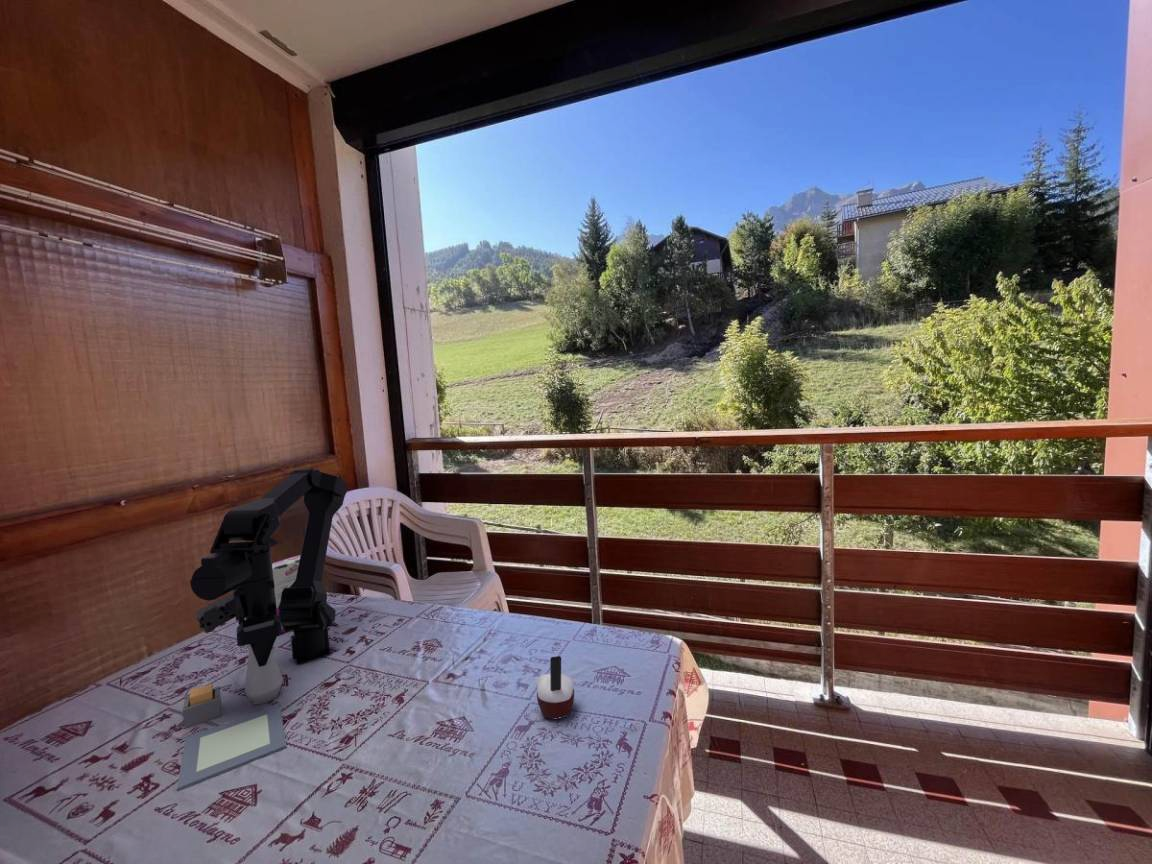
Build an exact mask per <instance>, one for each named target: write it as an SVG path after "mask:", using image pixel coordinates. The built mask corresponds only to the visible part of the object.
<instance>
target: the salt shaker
mask: <svg viewBox="0 0 1152 864" xmlns="http://www.w3.org/2000/svg"><path fill="white" fill-rule="evenodd" d="M247 646H248V647H249V649H248V650H249V651H248V658H247V667H246V668H247V669H246V676H245V677H246V678H245V685H244V686H245V687H244V692H245V694H246V696H247V698H248V699H249V701H250V702H251V703H253V704H254V705H262V704H267V703H269V702H271V701H272V700H274V699H275V698H277V697H278V696H279V692H280V690H281V687H282V684H283V681H284V678H283V675H282V673H281V669H280V667H279V664H278V660H277V658H276V655H275V652H274V650H273V648H272V650H271V653H270V656H269V658H268V661H267V664H266V665H265V666H261V667H259V666H258V663H257V661H256V658H255V655H254V653H253V650H252V648H251V645H250V644H248V645H247Z"/></svg>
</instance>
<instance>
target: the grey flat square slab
mask: <svg viewBox="0 0 1152 864" xmlns="http://www.w3.org/2000/svg"><path fill="white" fill-rule="evenodd" d="M286 748H287V744H286V737H285V729H284V722H283V717H282V709H281V704H276V705H274V706H272V707H271V706H270V707H268V708H266V709H263V710H260V711H257V712H254V713H251V714H248V715H246V716H243V717H240V718H238V719H233V720H230V721H228V722H225V723H222V724H219V725H217V726H214V727H211V728H208V729H205V730H202V731H200V732H197V733H194V734H191V735H188V736H185V738H184V745H183V751H182V756H181V762H180V769H179V775H178V780H177V786H176V790H177V791H182V790H184V789H186V788H189V787H191V786H193V785H196V784H200V783H202V782H203V781H204V782H205V781H206V780H209V779H211V778H214V777H216V776H217V777H218V776H220V775H221V774H224V773H227V772H229V771H232V770H235V769H237V768H240V767H241V766H244V765H247V764H249V763H252V762H255V761H257V760H259V759H261V758H264V757H267V756H270V755H271V754H274V753H277V752H279V751H282V750H284V749H286Z"/></svg>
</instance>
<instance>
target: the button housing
mask: <svg viewBox="0 0 1152 864" xmlns="http://www.w3.org/2000/svg"><path fill="white" fill-rule="evenodd" d="M220 688H221V687H220V685H219V686H216V687H213V694H214V699H212V700H209V701H206V702H202V703H199V704H196V705H193V706H190V699H189V698H190V694H189V695H187V696H185V697H184V702H183V706H182V707H183V709H182V716H183V725H184V726H183V727H184V730H186V729H188V728H189V729H190V728H191V727H195V726H198V725H199V724H200V725H201V724H203V723H206V722H209V721H212V720H214V719H217V718H221V714H222V699H221V689H220Z"/></svg>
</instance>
